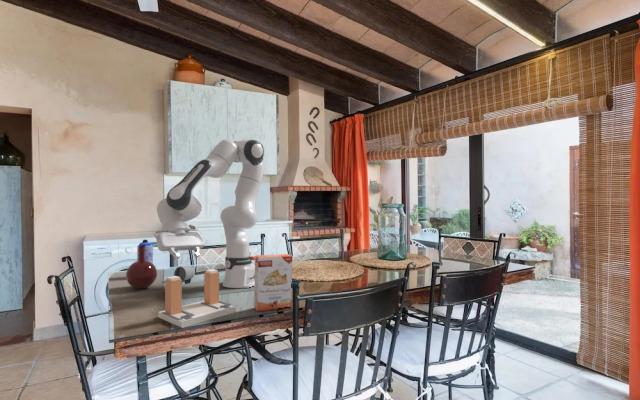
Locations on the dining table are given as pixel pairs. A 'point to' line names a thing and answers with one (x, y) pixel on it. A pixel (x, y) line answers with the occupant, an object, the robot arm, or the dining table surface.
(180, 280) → the orange rectangular block
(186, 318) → the white base plate
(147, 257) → the aerosol can
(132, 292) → the dining table surface
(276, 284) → the cracker box
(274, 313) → the dining table surface
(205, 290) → the tan tall bar
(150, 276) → the round-bottom flask
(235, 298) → the dining table surface
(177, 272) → the ceramic mug
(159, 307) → the dining table surface
